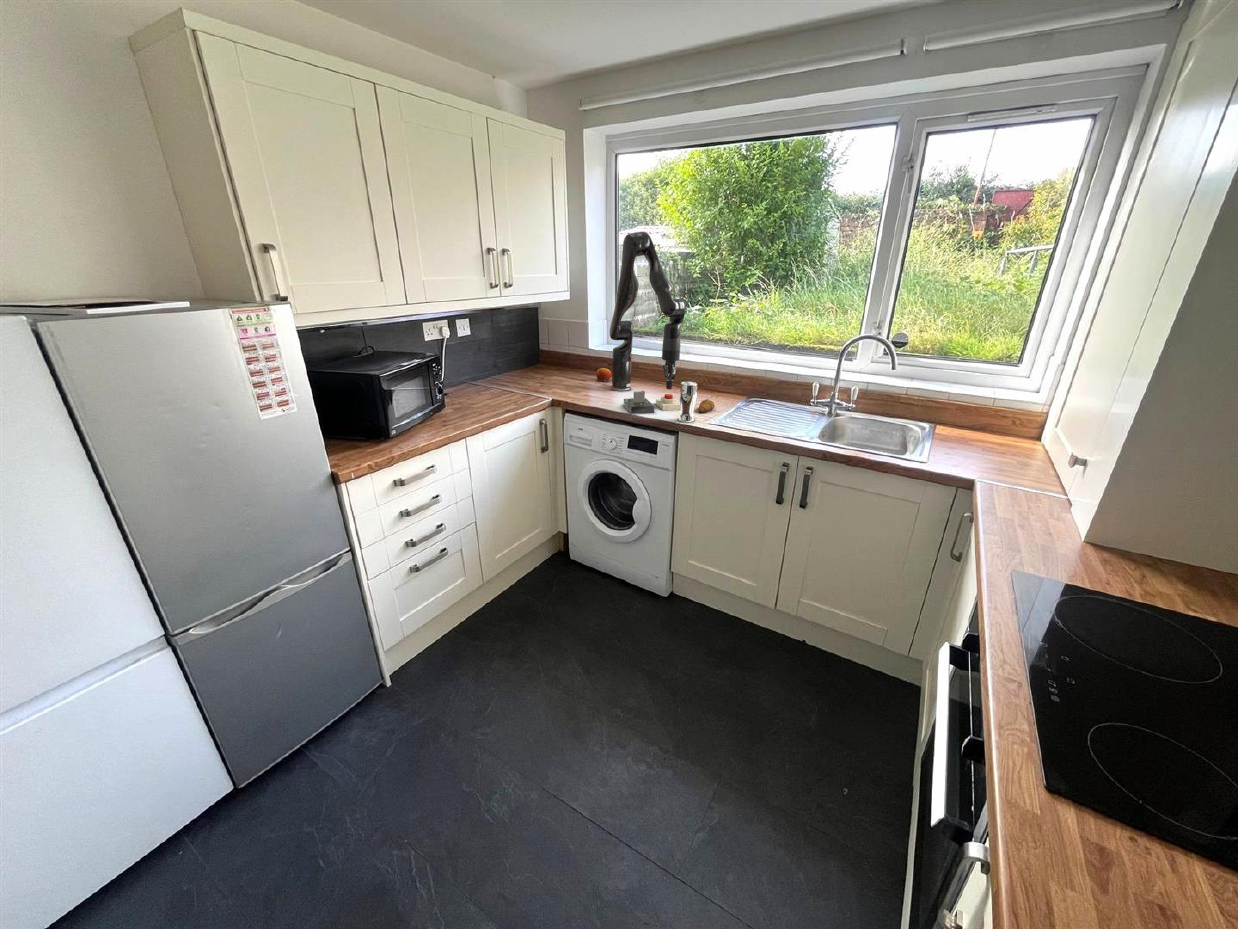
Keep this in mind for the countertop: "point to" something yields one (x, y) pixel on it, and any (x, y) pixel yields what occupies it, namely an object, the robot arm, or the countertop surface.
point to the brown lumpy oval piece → (706, 406)
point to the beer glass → (687, 401)
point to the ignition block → (668, 404)
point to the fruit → (603, 374)
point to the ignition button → (668, 396)
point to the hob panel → (639, 406)
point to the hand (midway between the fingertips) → (668, 388)
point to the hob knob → (638, 396)
